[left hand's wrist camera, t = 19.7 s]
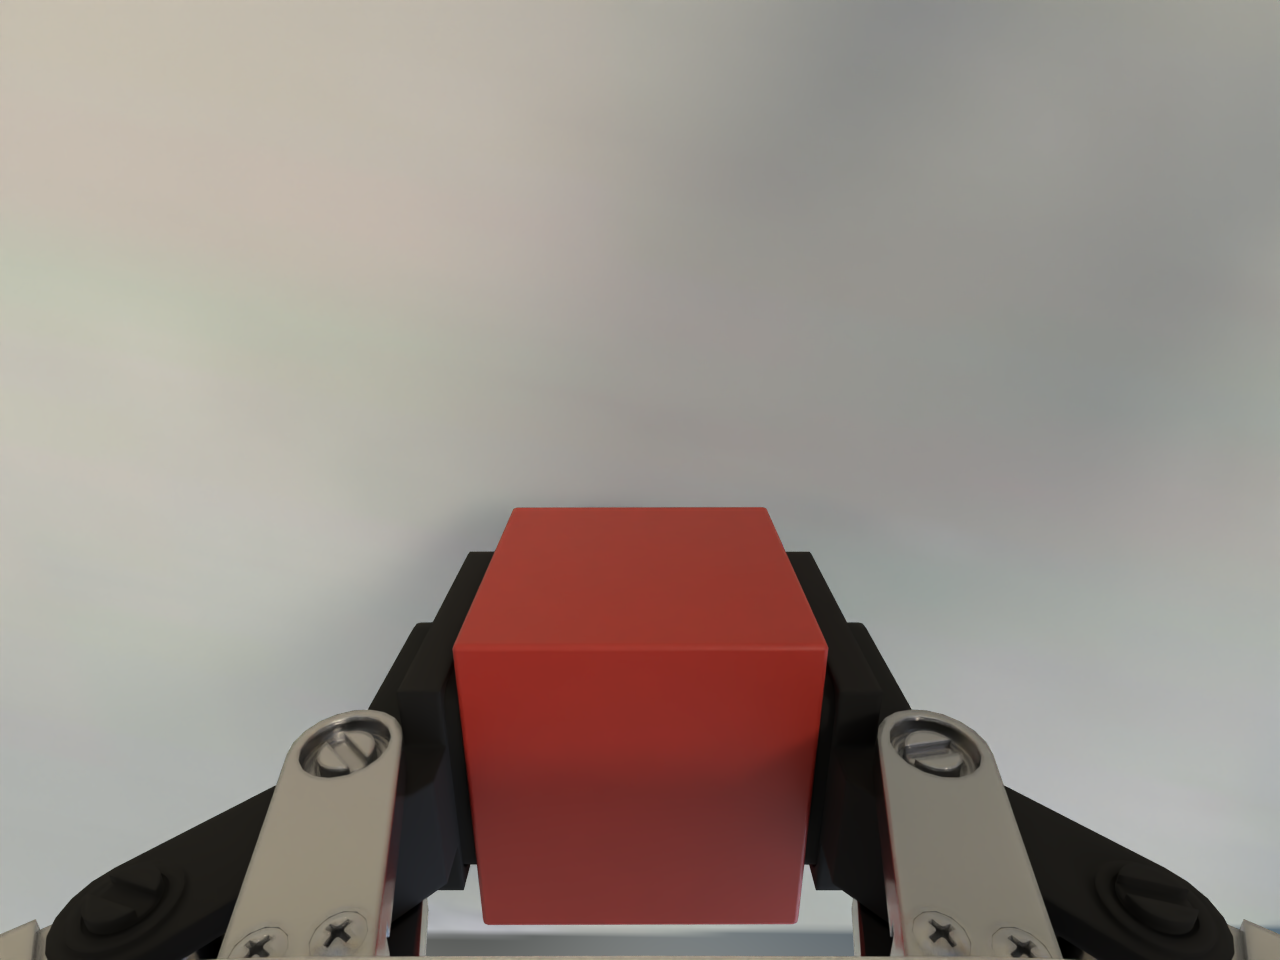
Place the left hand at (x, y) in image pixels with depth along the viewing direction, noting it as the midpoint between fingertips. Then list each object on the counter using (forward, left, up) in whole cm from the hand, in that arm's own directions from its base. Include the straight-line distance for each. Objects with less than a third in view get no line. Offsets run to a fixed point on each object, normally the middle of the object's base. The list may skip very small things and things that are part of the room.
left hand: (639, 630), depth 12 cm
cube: (0, 0, 0) cm, 0 cm away
